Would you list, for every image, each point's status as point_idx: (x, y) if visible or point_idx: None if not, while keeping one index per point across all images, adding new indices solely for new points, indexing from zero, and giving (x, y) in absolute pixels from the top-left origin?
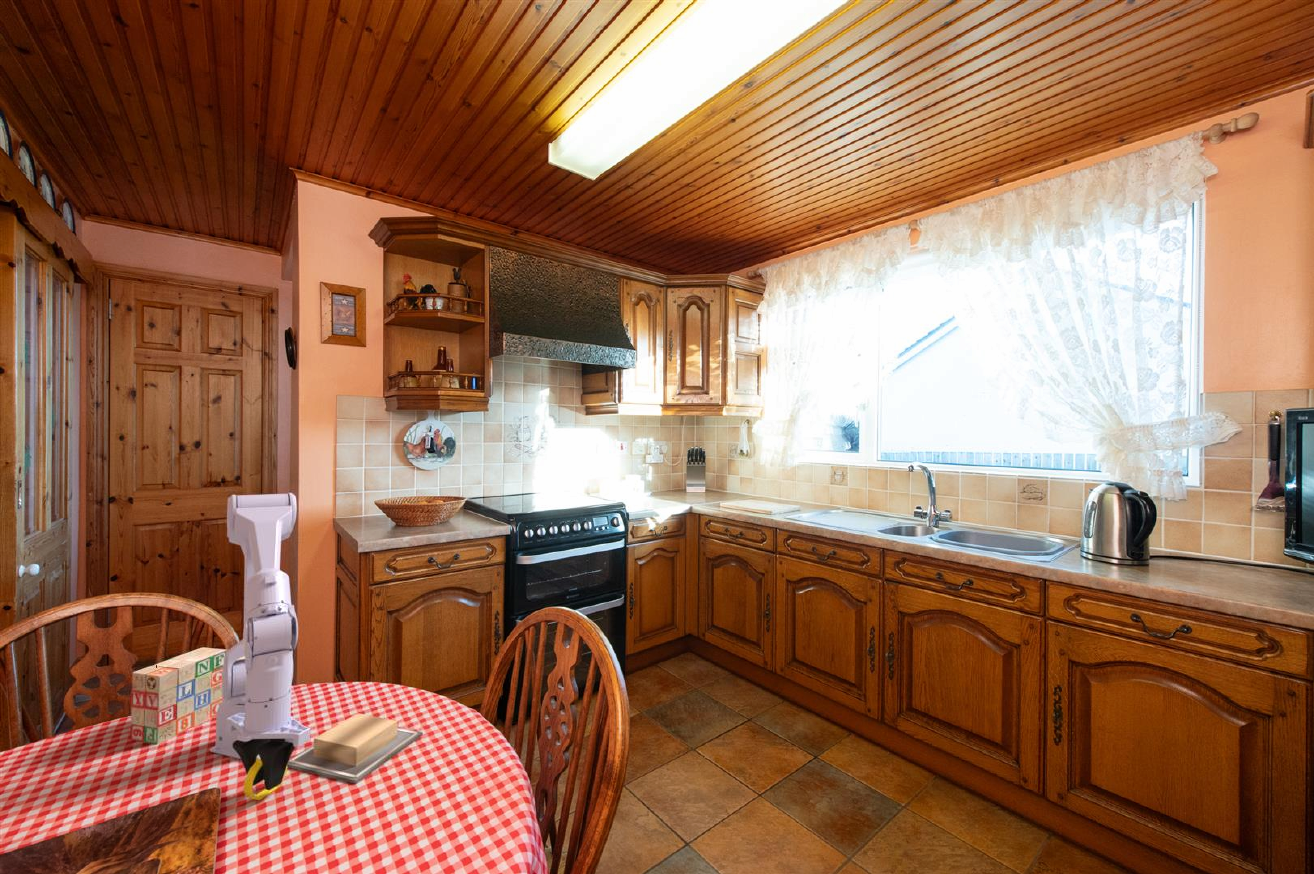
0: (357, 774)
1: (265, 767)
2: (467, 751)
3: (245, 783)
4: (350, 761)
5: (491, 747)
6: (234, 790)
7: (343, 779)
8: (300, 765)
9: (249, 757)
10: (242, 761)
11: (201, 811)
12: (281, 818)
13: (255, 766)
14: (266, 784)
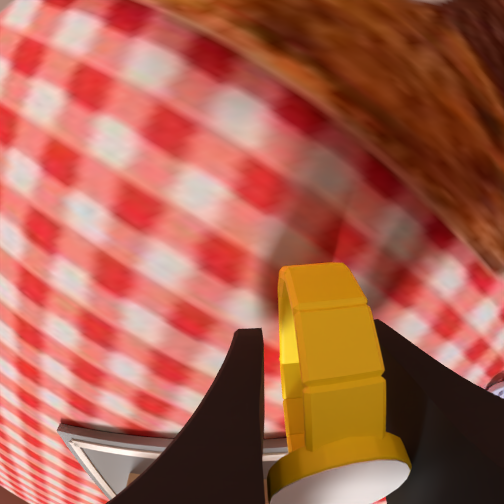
0: (81, 449)
1: (224, 429)
2: (26, 489)
3: (343, 289)
4: None
5: (14, 491)
6: (444, 287)
7: (100, 434)
8: None
9: (446, 439)
10: (481, 389)
11: (455, 142)
12: (56, 233)
13: (350, 409)
14: (244, 343)
